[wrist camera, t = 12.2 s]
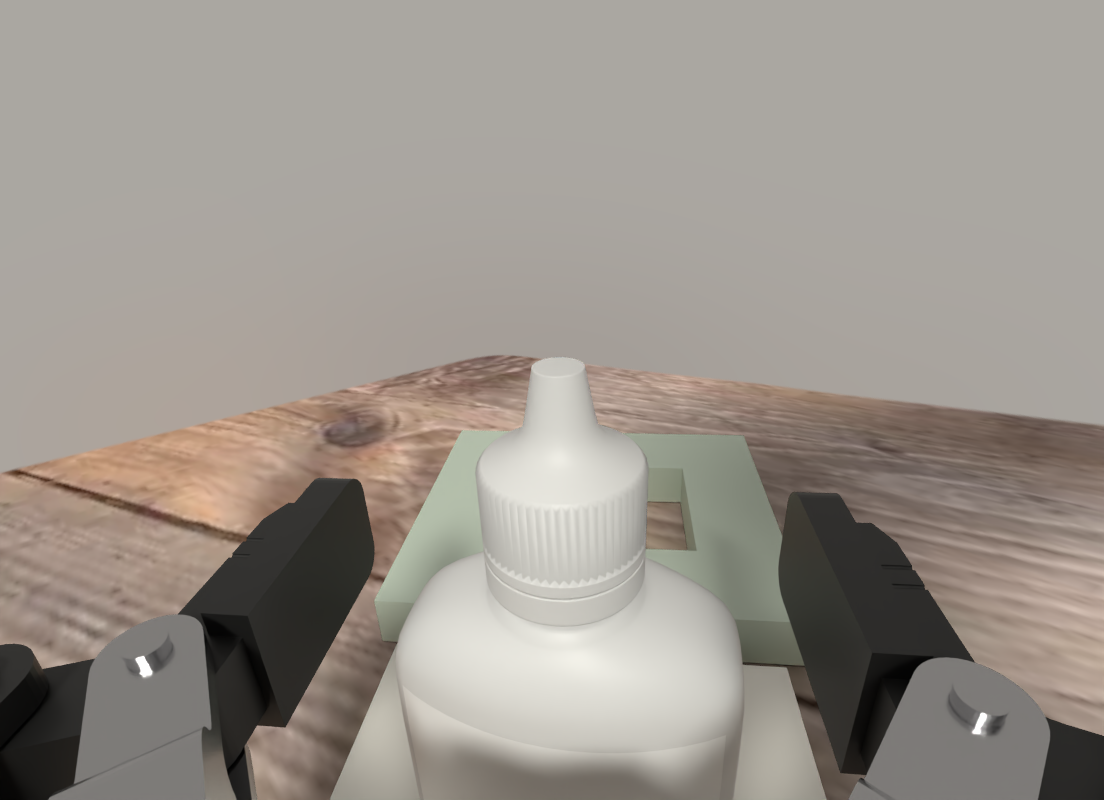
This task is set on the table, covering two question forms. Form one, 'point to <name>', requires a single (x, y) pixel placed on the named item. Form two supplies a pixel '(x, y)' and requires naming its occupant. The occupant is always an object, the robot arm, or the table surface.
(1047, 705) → the table surface
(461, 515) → the holder
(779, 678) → the tile
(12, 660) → the robot arm
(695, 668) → the eye dropper bottle
